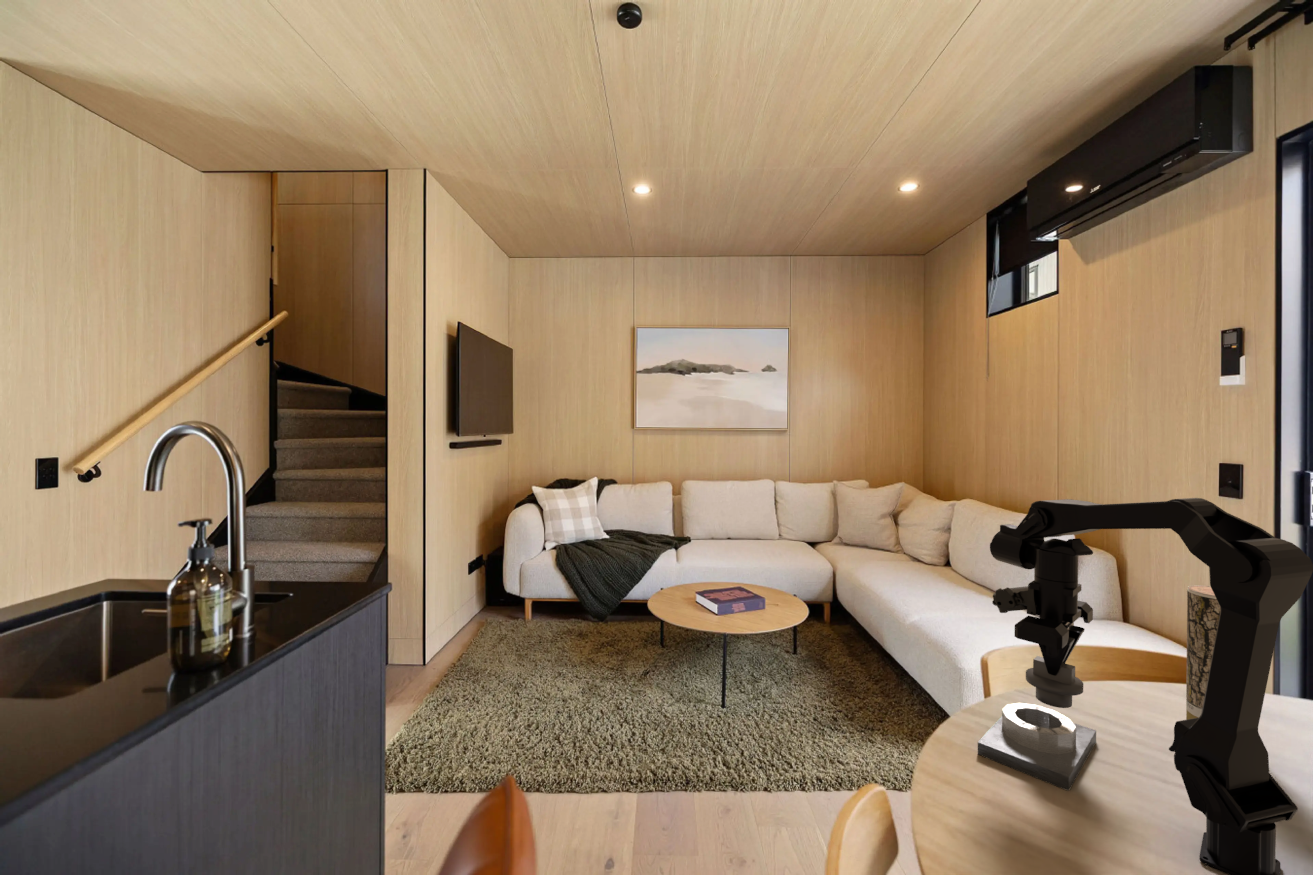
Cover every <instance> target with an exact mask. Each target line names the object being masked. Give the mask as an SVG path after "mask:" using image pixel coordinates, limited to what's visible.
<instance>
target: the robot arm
mask: <svg viewBox="0 0 1313 875" xmlns="http://www.w3.org/2000/svg"><path fill="white" fill-rule="evenodd" d="M1146 529H1147V530H1151V529H1152V530H1153V529H1154V530H1159V529H1160V530H1161V529H1162V530H1165V529H1167V530H1168V529H1171V530H1172V531H1173V532H1174V533H1176V534H1177V535H1178V536H1179V538H1180V539H1181V540H1182V541H1183V544H1184V545H1185V546H1186V549H1187V550H1188V551H1189V552H1190V553H1191V554H1192V555H1193V556H1195V557H1196V558H1197V559H1198V560H1199V561H1201V562H1202V563H1203V564H1204V565H1206V566H1207V567H1208V570H1209V572H1208V573H1209V586H1211V588H1212V591H1213V593H1214V595H1215V597H1216V599H1217V601H1218V603H1219V605H1220V616H1219V621H1218V626H1217V632H1216V637H1215V643H1214V648H1213V654H1212V659H1211V665H1210V670H1209V675H1208V681H1207V686H1206V692H1205V697H1204V703H1203V708H1202V713H1201V715H1200V717H1199V718H1193V719H1188V720H1186V719H1183V720H1177V721H1175V724H1174V726H1173V742H1172V744H1171V746H1170V747H1168V750H1169V751H1170V752H1171V753H1172V752H1173V753H1174V754H1173V763H1174V767H1175V770H1177V771H1178V772H1179V773H1180V776H1181V778H1182V779H1181V780H1182V781H1183V784H1184V787H1185V790H1186V791H1185V792H1186V793H1187V796H1188V798H1189V799H1188V800H1189V802H1190V805H1191V807H1192V808H1194V809H1196V810H1197V811H1199V812H1201V813H1202V815H1204V816H1205V817H1206V822H1205V823H1206V827H1205V831H1204V832H1203V834H1202V840H1201V846H1200V851H1199V852H1200V853H1199V855H1198V856H1199V861H1200V862H1201V863H1203V864H1205V865H1207V866H1208V867H1209V866H1210V867H1212V868H1215V869H1217V870H1219V871H1222V872H1224V873H1226V874H1229V875H1281V861H1280V860H1278V859H1277V858H1276V847H1277V846H1276V845H1277V844H1276V842H1277V841H1276V838H1277V836H1276V835H1277V826H1276V823H1280V822H1282V821H1286V822H1289V821H1291V820H1292V819H1293V817H1294V816H1295V814H1296V813H1297V812H1298V806H1297V804H1295V802H1294V801H1293V800H1292V798H1290V796H1289V795H1288V794H1287V793H1286V791H1284V789H1283V787H1281V785H1280V784H1279V783H1278V782H1277V781H1276V779H1275V778H1274V777H1273V776H1272V775H1271V773H1270V765H1269V764H1270V762H1269V760H1270V759H1269V752H1268V750H1267V747H1266V746H1265V744H1264V741H1263V739H1262V738H1261V736H1260V732H1259V724H1260V719H1261V715H1262V710H1263V705H1264V699H1265V695H1266V691H1267V684H1268V680H1269V675H1270V670H1271V665H1272V660H1273V655H1274V651H1275V646H1276V642H1277V641H1276V640H1277V636H1278V631H1279V627H1280V622H1281V620H1282V618H1283V617H1284V616H1285V614H1286V613H1288V611H1289V610H1290V609H1291V608H1292V607H1294V605H1295V604H1296V603H1297V602H1298V601H1299V600H1300V598H1302V595H1303V593H1304V591H1305V589H1306V587H1307V585H1308V583H1309V581H1310V579H1311V577H1312V574H1313V561H1312V558H1311V557H1309V556H1308V555H1307V554H1306V553H1305V552H1304V551H1303V550H1302V548H1300V547H1299V546H1297V545H1295V544H1294V543H1293V542H1291V541H1287V540H1285V539H1283V538H1277V537H1275V536H1274V535H1272V534H1271V533H1269V532H1267V531H1266V530H1265V529H1263V528H1261V527H1259V526H1257V525H1256V524H1253V523H1251V522H1250V521H1246V520H1244V519H1242V518H1239V517H1238V516H1235V515H1233V514H1231V513H1228V512H1227V511H1225V510H1224V509H1222V508H1221V507H1219V506H1218V505H1216V504H1214V503H1213V502H1212V501H1209V500H1207V499H1205V498H1202V497H1201V498H1200V497H1187V498H1186V497H1184V498H1172V499H1169V500H1166V501H1165V500H1164V501H1163V500H1161V501H1148V502H1147V501H1144V502H1125V503H1105V504H1103V503H1095V502H1091V501H1087V500H1079V499H1071V498H1070V499H1069V498H1067V499H1049V500H1037V501H1034V502H1032V503H1031V504H1030V507H1029V508H1028V512H1027V514H1026V515H1025V516H1024V518H1023V519H1022V520H1021V522H1019V524H1018V526H1017V525H1014V524H1010V523H1005V524H1000V525H999V531H997V533H996V534H994V536H993V538H992V539H991V542H989V550H990V551H989V552H990V554H991V556H992V557H993V558H994V559H995V560H996V561H998V562H1001V563H1004V564H1009V565H1010V566H1015V567H1018V568H1020V569H1021V568H1022V569H1025V570H1033V571H1034V573H1033V574H1034V575H1033V576H1034V579H1033V580H1032V581H1030V582H1029V583H1028V584H1027V586H1018V587H1006V588H1003V589H1002V588H998V589H996V590H995V592H994V593H993V594H992V598H993V600H992V604H993V605H994V606H996V607H997V609H998V611H999V613H1001V614H1006V613H1008V612H1014V611H1015V612H1016V611H1025V610H1026V614H1027V616H1026V617H1023V619H1020V620H1019V621H1018V622H1017V623H1015V624H1014V637H1015V638H1017V639H1018V640H1023V641H1026V642H1030V643H1033V644H1038V647H1039V649H1040V652H1041V655H1042V656H1041V657H1043V659H1044V662H1045V665H1046V668H1047V672H1048V673H1049V674H1051V675H1054V676H1056V675H1057V673H1058V672H1059V670H1060V668H1061V666H1062V664H1063V663H1065V664H1067V661H1068V659H1069V657H1070V655H1071V654H1072V652H1073V650H1074V649H1075V647H1076V645H1077V643H1078V642H1079V640H1080V638H1081V637H1082V635H1083V633H1084V632H1085V628H1084V627H1082V626H1077V625H1075V622H1076V621H1077V620H1078V619H1079V618H1083V622H1084V623H1086V624H1090V623H1091V622H1093V620H1094V608H1092V606H1091V605H1089V603H1088V602H1086V601H1080V600H1079V599H1078V598H1079V597H1078V596H1079V593H1080V592H1081V591H1082V584H1080V583H1079V557H1080V556H1091V555H1093V554H1094V551H1093V550H1092V549H1091V548H1090V547H1089V546H1088V545H1086V544H1085V543H1084V542H1083V540H1082V539H1081V538H1069V539H1068V540H1064V539H1060V538H1057V537H1064V536H1077V535H1080V534H1086V533H1092V532H1096V531H1099V530H1146ZM1055 537H1056V538H1055ZM1045 538H1049V539H1046V540H1045ZM1037 616H1038V617H1037Z"/></svg>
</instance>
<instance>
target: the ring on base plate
mask: <svg viewBox="0 0 1313 875" xmlns="http://www.w3.org/2000/svg"><path fill="white" fill-rule="evenodd" d="M1095 744H1097V730H1096V729H1093V728H1090V727H1087V726H1085V725H1081V724H1078V723H1074V722H1073V721H1072V719H1071V718H1069V717H1067V716H1065V714H1062V713H1060V712H1058V711H1057V710H1054V709H1052V708H1048V707H1045V706H1043V705H1038V704H1032V703H1026V702H1025V703H1024V702H1016V703H1015V702H1014V703H1007V704H1006V705H1005V706H1004V707H1003V708H1002V709H1001V716H1000V717H999V719H997V721H996V722H995V723H994V724H993V725H992V726H991V727H990V728H989V729H988V730H987V731H986V732H985V733H984V735H983V736H982V737H981V738H980V739H979V740H978V741H977V755H978V754H980V755H979V756H981V755H983V756H984V758H986V757H987V758H986V759H989V760H990V761H994V762H996V763H998V764H1001V765H1002V766H1005V767H1008V768H1010V769H1013V770H1015V771H1018V772H1020V773H1022V774H1025V775H1028V776H1031V777H1033V778H1036V779H1038V780H1040V781H1043V782H1045V783H1047V784H1051V785H1053V786H1056V787H1058V788H1059V789H1063V790H1066V791H1070V790H1071V788H1072V786H1073V784H1074V782H1075V780H1076V779H1077V778H1078V775H1079V773H1080V772H1081V770H1082V769H1083V767H1084V764H1085V763H1086V761H1087V759H1088V757H1089V755H1090V754H1091V752H1092V750H1093V749H1094V747H1095ZM983 756H982V757H983Z"/></svg>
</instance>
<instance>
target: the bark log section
mask: <svg viewBox="0 0 1313 875" xmlns="http://www.w3.org/2000/svg"><path fill="white" fill-rule="evenodd" d="M1186 590H1187V591H1186V592H1187V595H1186V596H1187V597H1186V678H1185V679H1186V682H1185V683H1186V690H1185V691H1186V692H1185V693H1186V694H1185V695H1186V696H1185V697H1186V698H1185V701H1186V702H1185V703H1186V704H1185V706H1186V708H1185V709H1186V714H1185V716H1186V719H1185V720H1188V719H1193V718H1199V717H1200V715H1201V713H1202V708H1203V703H1204V697H1205V692H1206V686H1207V681H1208V675H1209V670H1210V665H1211V659H1212V654H1213V648H1214V643H1215V637H1216V632H1217V626H1218V621H1219V616H1220V605H1219V603H1218V601H1217V599H1216V597H1215V595H1214V593H1213V591H1212V588H1211V586H1210V585H1200V584H1199V585H1198V584H1195V585H1188V586H1187V589H1186Z"/></svg>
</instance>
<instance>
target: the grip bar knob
mask: <svg viewBox="0 0 1313 875" xmlns="http://www.w3.org/2000/svg"><path fill="white" fill-rule="evenodd" d="M1032 665H1033V666H1032V667H1030V668H1027V669H1026V670H1025V681H1027V683H1029V685H1031V686H1032V687H1035V699H1036V700H1038V701H1039V702H1040V703H1042V704H1045V705H1047V706H1051V707H1054V708H1059V709H1067V708H1071V707H1073V696H1079V695H1081V694H1083V693H1084V682H1083V681H1082V679H1080V678H1079V677H1077V676H1076V666H1075V665H1072V664H1068V663H1063V664H1062V666H1061V668H1060V670H1059V672H1058V673H1057V675H1056V676H1054V675H1051V674H1049V673H1048V672H1047V668H1046V665H1045V662H1044V659H1043V656H1040V655H1036V656H1035V657H1034V658H1033V663H1032Z"/></svg>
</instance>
